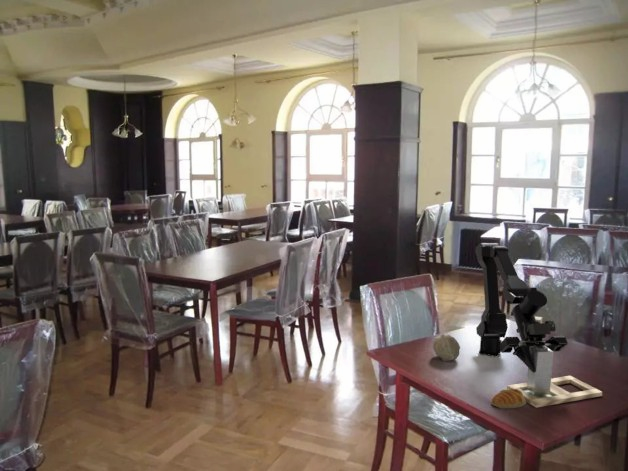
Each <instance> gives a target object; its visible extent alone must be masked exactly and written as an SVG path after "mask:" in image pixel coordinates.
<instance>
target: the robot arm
mask: <svg viewBox="0 0 628 471" xmlns="http://www.w3.org/2000/svg"><path fill="white" fill-rule="evenodd" d="M474 251H475V256H476V260H477V262H478V263H479V266H481V268H482V278H483V291H484V292H483V293H484V306H485V307H484V308H485V309H484V310H483V312H482V314H481V316H480V323H479V324H478V325H477V326H476V335H477V336H478V337H480V341H479V342H480V346H479V351H478V353H479V354H481V355H487V356H491V357H499V355H500V354H501V353H503V354H506V353H507V354H508V353H511V352H512V351H513V352H512V355H513V356H516V357H517V358H518V359H520V360H521V361H522V362H523V364H525V365H526V367H527V369H528V368H529V369H530V370H531V371H532V372H533V373H534V372H535V368H534V364H533V361H532V358H531V355H530V346H538V345H544V346H546V347H547V348H549V349H550V350H552V351H553V352H555V353H556V352H561V351H562V350H563V349H564V348H566V346H568V345H569V342H568V339H567V337H565V336H564V335H552V332H555V331H556V330H557V329H556V323H555V322H554V320H545V321H544V323H543V322H542V323H540V322H539V321H536V319H535V316H536V315H538V314H539V313H540V311H542V309H543V308H544V307H545V306H546V305H547V303H548V298H547V296H546V295H545V294H544V293H543V292H541V291H540V290H538V288H537V286H536V287H535V286H533V287H532V286H531V287H529V286H528V284H527V282H525V281H524V280H523V279H521V278H520V277H519V274H518V273H517V271H516V268H515V266H514V264H513V261H512V260H511V257H510V254H509V248H508V247H507V246H504V245H499V243H498V242H480V243H479V244H478V245H477V246H476V247H475V250H474ZM498 272H499V275H500V278H501V280H502V282H503V288H502V293H503V296H502V297H503V299H504V301H505V302H506V304H509V305H515V306H513V307H512V310H511V312H510V316H513V318H514V321H515V323H516V327H517V328H516V331H515V332H516V333H517V334H518V335H519V337H520V338H519V337H518V336H506V335H507V330H508V322H507V314H506V313H505V312H503V310H502V309H501V307H500V293H499V280H498V279H499V278H498ZM547 335H549V336H550V337H549V338H548V339H545V338H546V337H547ZM551 335H552V336H551ZM501 338H504V339H503V340H501ZM543 339H544V340H543Z"/></svg>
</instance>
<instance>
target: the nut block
mask: <svg viewBox="0 0 628 471" xmlns="http://www.w3.org/2000/svg"><path fill="white" fill-rule="evenodd" d="M530 355H531V358H532V361H533V364H534V368H535V372H534V373H533V372H532V371H531V370H530V369H529V368H528V367H527V375H526V376H527V378H526V382H527V389H528V390H529V391H530V392H531V393H533V394H534V395H550V386H551V379H552V374H553V373H552V372H553V362H554V352H553V351H552V350H550V349H549V348H547V347H546V346H544V345H538V346H530Z"/></svg>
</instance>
